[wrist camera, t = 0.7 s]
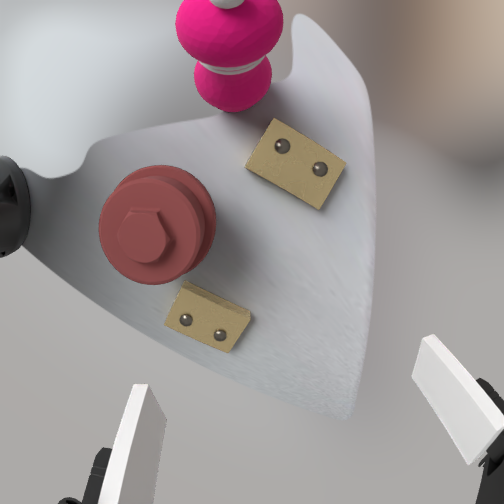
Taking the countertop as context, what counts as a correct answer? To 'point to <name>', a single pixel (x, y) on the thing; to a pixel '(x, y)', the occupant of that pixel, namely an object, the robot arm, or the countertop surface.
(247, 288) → the countertop surface
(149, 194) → the mechanical component
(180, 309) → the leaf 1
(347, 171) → the countertop surface
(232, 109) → the pepper mill
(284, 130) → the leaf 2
